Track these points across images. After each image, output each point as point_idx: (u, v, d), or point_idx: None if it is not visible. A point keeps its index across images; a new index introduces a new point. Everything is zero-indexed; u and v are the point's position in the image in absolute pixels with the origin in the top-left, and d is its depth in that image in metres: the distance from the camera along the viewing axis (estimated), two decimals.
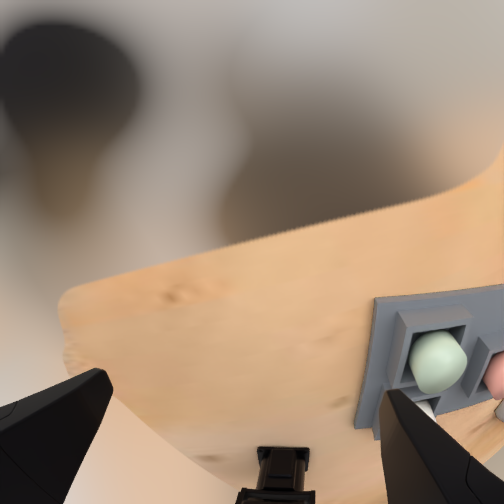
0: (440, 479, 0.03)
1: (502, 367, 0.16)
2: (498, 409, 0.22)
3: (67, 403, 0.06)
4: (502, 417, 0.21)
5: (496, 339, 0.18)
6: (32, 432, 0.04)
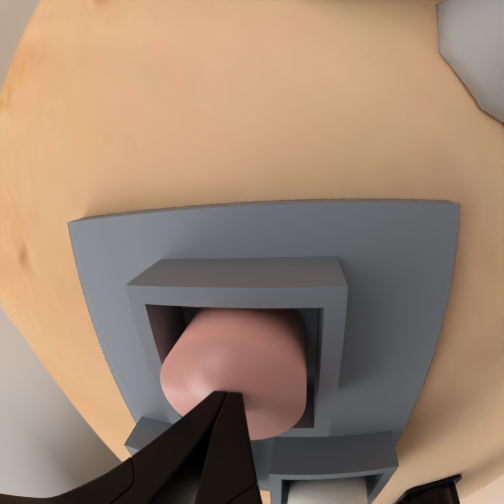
0: (204, 490, 0.04)
1: None
2: None
3: (203, 444, 0.05)
4: None
5: None
6: (166, 495, 0.04)
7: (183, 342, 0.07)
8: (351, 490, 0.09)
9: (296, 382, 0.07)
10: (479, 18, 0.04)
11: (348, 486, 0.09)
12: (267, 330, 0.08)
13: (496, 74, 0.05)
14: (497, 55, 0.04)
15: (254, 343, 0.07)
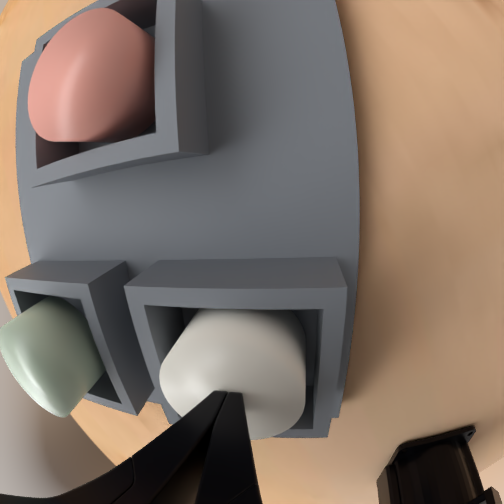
0: (204, 490, 0.04)
1: None
2: None
3: (203, 444, 0.05)
4: None
5: None
6: (166, 495, 0.04)
7: (56, 38, 0.05)
8: (265, 315, 0.08)
9: (121, 23, 0.05)
10: None
11: (261, 309, 0.09)
12: None
13: None
14: None
15: (98, 10, 0.05)
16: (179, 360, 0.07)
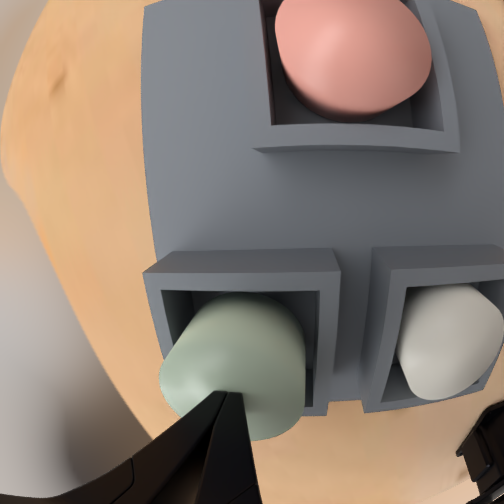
0: (204, 490, 0.04)
1: (302, 88, 0.07)
2: None
3: (203, 444, 0.05)
4: None
5: None
6: (166, 495, 0.04)
7: None
8: (472, 286, 0.08)
9: (414, 18, 0.05)
10: None
11: None
12: None
13: None
14: None
15: None
16: (443, 328, 0.07)
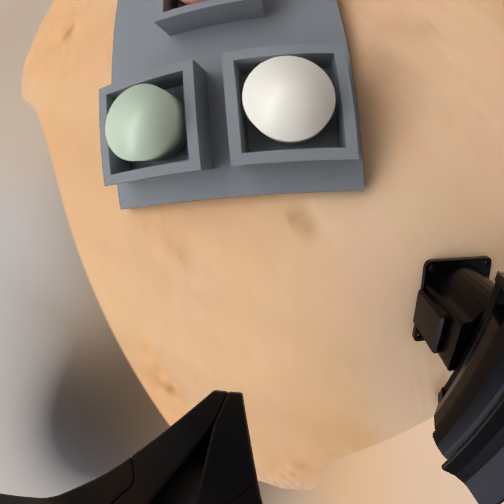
0: (204, 490, 0.04)
1: None
2: None
3: (203, 444, 0.05)
4: None
5: None
6: (166, 495, 0.04)
7: None
8: None
9: None
10: None
11: None
12: None
13: None
14: None
15: None
16: (259, 72, 0.11)
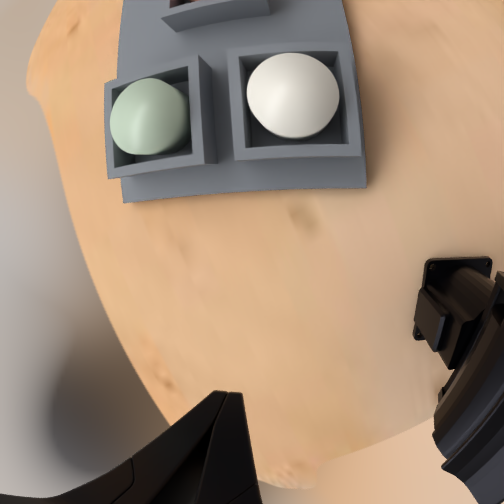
0: (204, 490, 0.04)
1: None
2: None
3: (202, 444, 0.05)
4: None
5: None
6: (166, 495, 0.04)
7: None
8: None
9: None
10: None
11: None
12: None
13: None
14: None
15: None
16: (264, 68, 0.11)
